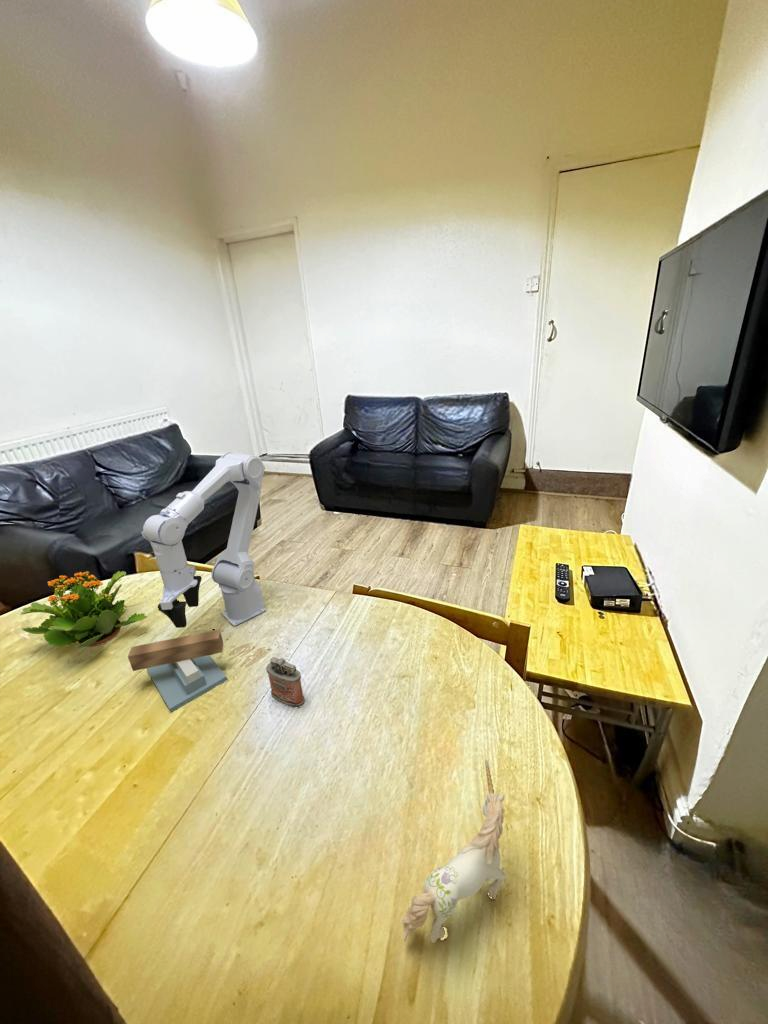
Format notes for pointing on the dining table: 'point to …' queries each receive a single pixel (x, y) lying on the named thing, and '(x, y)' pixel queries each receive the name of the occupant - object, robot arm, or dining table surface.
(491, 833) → the unicorn figurine
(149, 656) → the walnut bar
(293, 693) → the lighter
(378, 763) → the dining table surface
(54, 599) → the potted flower
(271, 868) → the dining table surface
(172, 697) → the ridge stand
